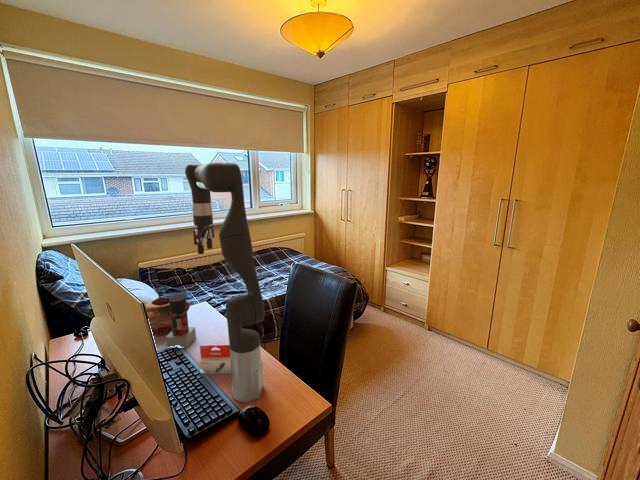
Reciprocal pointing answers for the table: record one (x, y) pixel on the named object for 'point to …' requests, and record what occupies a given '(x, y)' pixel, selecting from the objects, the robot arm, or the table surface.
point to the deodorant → (179, 315)
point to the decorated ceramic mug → (160, 315)
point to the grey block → (181, 338)
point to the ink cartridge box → (215, 359)
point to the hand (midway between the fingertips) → (205, 251)
